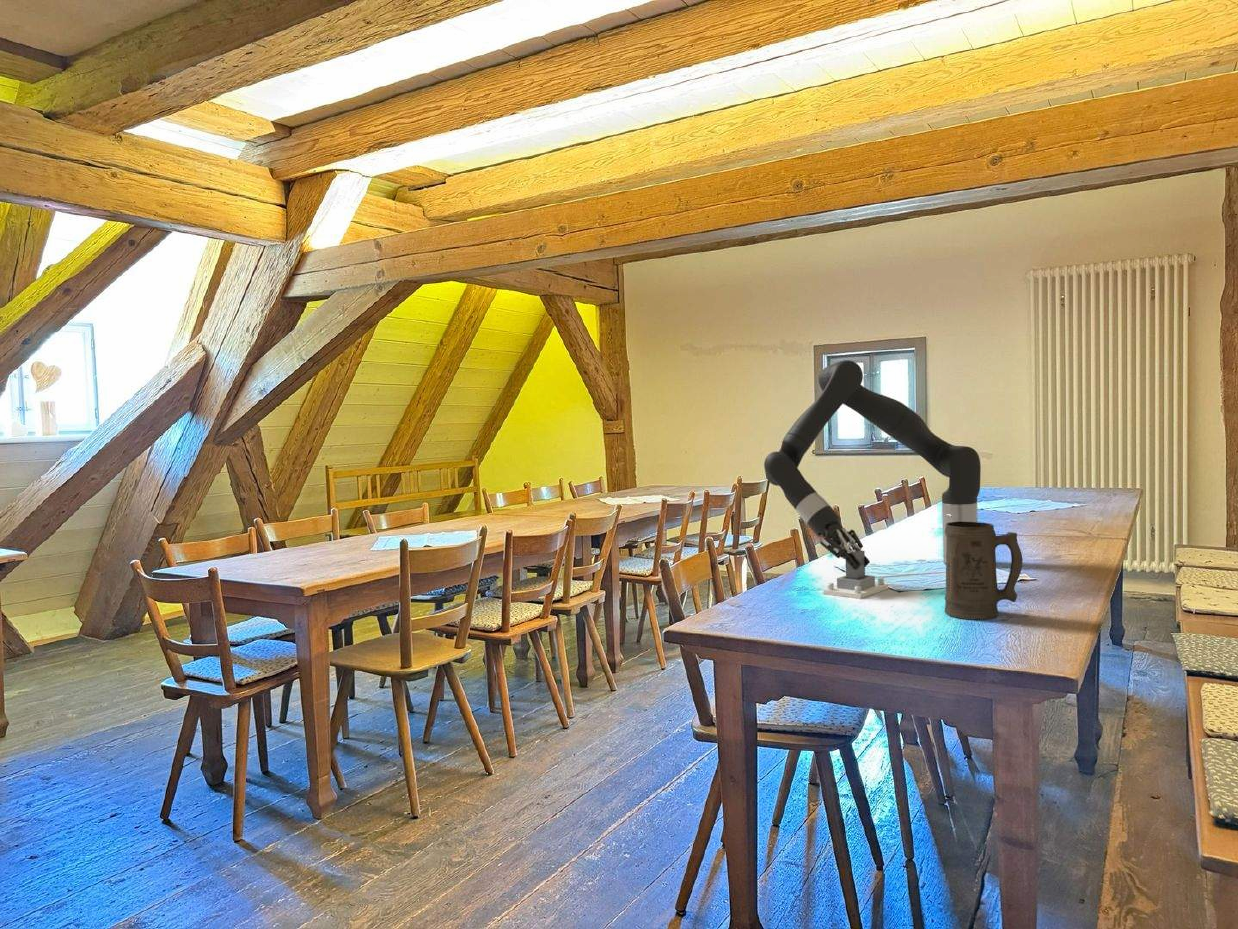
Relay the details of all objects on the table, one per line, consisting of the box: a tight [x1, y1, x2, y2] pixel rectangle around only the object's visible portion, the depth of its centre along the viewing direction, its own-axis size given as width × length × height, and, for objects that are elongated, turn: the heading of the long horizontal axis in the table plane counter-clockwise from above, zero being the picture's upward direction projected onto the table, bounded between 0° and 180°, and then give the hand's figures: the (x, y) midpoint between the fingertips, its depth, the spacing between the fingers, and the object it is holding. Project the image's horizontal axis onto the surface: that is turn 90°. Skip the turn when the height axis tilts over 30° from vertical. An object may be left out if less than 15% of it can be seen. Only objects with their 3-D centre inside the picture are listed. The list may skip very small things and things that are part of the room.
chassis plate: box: [822, 574, 890, 600], centre depth 208 cm, size 14×10×4 cm
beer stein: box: [944, 521, 1023, 620], centre depth 180 cm, size 15×11×20 cm
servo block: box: [845, 549, 866, 580], centre depth 208 cm, size 4×3×8 cm
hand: (862, 565), depth 207 cm, fingers closed on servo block, 3 cm apart
